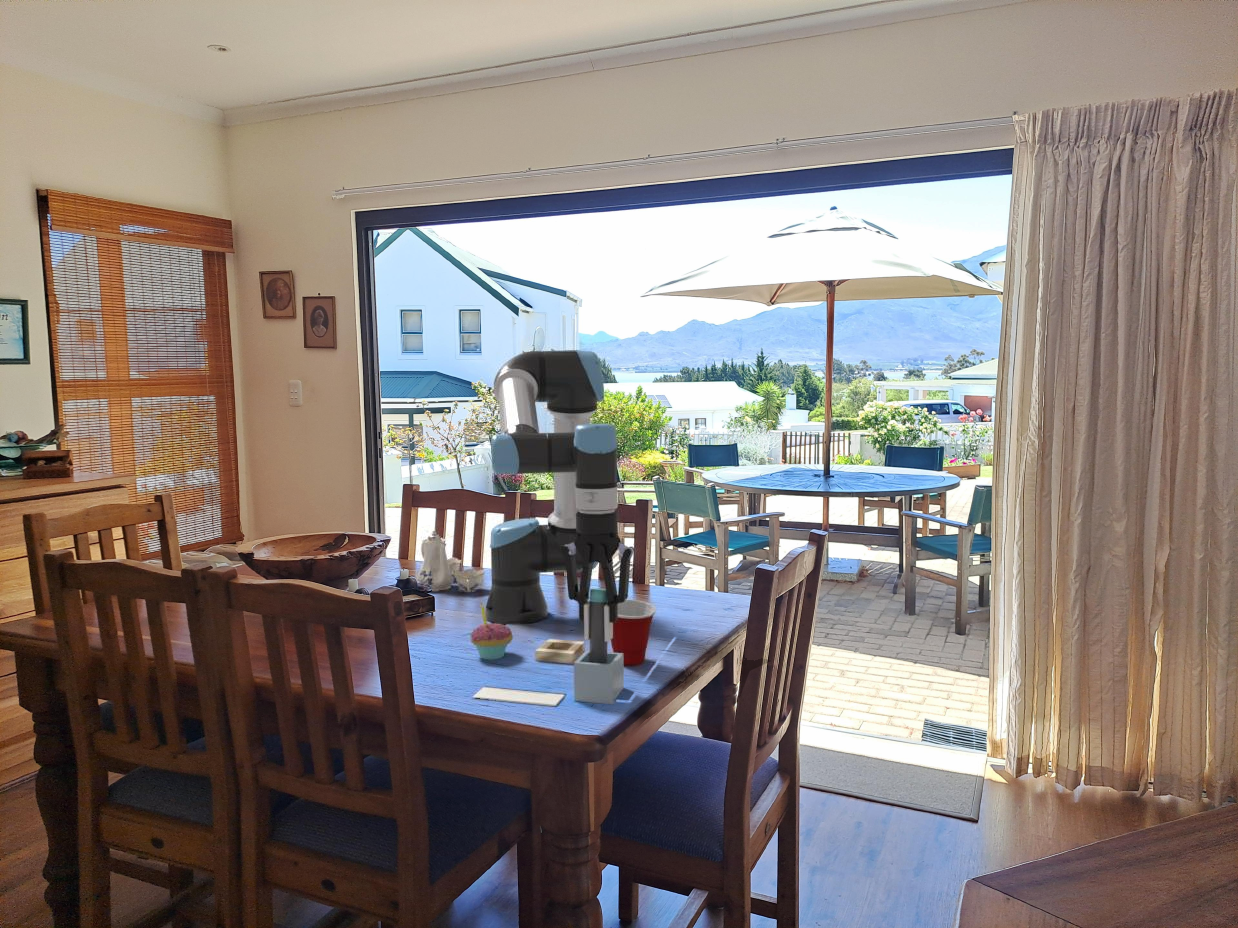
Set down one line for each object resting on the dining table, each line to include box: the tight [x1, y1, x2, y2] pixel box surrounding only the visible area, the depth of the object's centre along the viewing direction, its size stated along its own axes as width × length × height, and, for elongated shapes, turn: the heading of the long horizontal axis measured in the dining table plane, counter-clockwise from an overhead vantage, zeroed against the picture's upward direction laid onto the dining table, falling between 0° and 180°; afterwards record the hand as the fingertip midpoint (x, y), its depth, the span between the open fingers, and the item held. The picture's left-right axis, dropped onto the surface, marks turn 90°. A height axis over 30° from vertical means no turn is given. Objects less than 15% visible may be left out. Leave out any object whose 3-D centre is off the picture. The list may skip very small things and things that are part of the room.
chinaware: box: [415, 530, 485, 593], centre depth 240 cm, size 28×17×17 cm, turn 36°
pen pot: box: [573, 649, 625, 705], centre depth 156 cm, size 7×7×7 cm
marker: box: [589, 587, 608, 664], centre depth 155 cm, size 3×3×14 cm
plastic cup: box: [610, 599, 658, 667], centre depth 173 cm, size 11×11×12 cm
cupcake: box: [470, 601, 514, 660], centre depth 178 cm, size 9×8×12 cm
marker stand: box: [534, 638, 586, 665], centre depth 178 cm, size 8×8×2 cm
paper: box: [472, 685, 567, 707], centre depth 161 cm, size 16×14×1 cm
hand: (598, 638), depth 156 cm, fingers closed on marker, 3 cm apart
